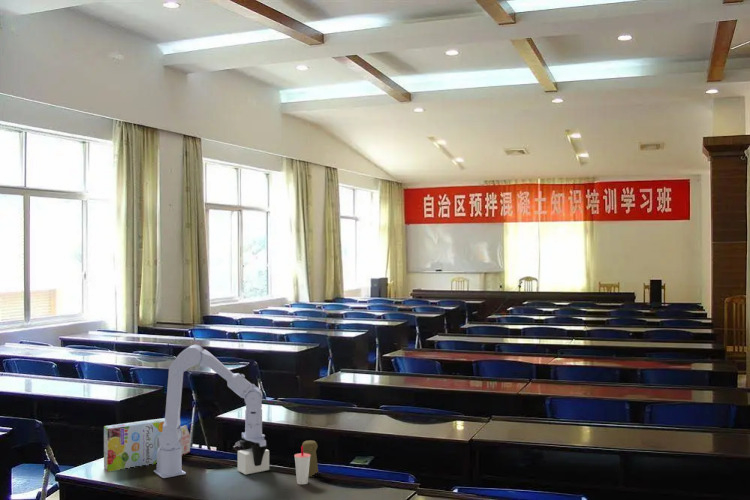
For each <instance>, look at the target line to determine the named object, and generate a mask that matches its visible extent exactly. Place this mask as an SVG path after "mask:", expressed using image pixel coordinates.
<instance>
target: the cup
mask: <svg viewBox="0 0 750 500" xmlns="http://www.w3.org/2000/svg"><path fill="white" fill-rule="evenodd" d="M300 449H301V450H300V451H301V452H300V453H295V454H294V455H293V456H294V464H295V474H296V475H295V476H296V483H297V484H298V485H307V484H308V482H309V476H308V475H309V465H310V456H311V455H310V454H308V453H304V451H303V446H302V445H301V446H300Z"/></svg>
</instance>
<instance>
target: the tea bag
mask: <svg viewBox="0 0 750 500" xmlns="http://www.w3.org/2000/svg"><path fill="white" fill-rule="evenodd" d="M180 427H181V430H182V437H181V439H180V440H179V441H180V443H181V445H182V456H184V455H186V454H188V453H190V452H191V434H190V432H189V429H188V425H187V424H184V425H182V426H180ZM183 454H184V455H183Z"/></svg>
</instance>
